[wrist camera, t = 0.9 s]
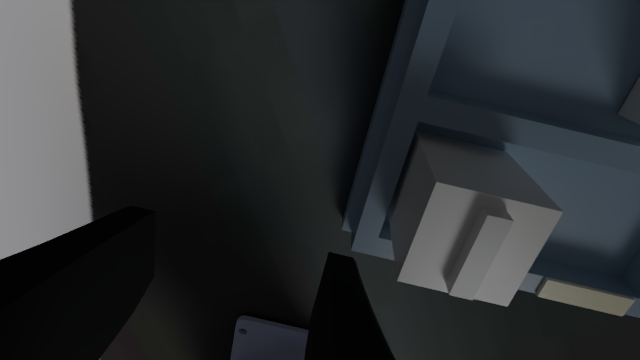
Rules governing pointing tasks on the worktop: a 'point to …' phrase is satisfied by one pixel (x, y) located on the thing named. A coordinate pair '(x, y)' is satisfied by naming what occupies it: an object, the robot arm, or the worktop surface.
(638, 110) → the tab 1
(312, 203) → the worktop surface
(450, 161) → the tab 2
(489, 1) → the dark blue tray
